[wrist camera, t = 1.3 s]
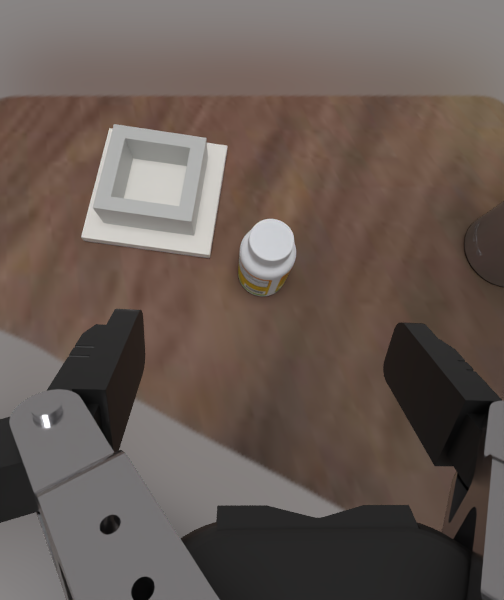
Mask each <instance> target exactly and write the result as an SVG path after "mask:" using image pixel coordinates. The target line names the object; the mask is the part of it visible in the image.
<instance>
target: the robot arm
mask: <svg viewBox="0 0 504 600" xmlns="http://www.w3.org/2000/svg"><path fill="white" fill-rule="evenodd" d="M464 245H465V252H466V255H467V258H468V261H469V262H470V264H471V266H472V267H473V269H474V270H475V271H476V272H477V273H478V274H479V275H480V276H481V277H483V278H484V279H485V280H487V281H489V282H490V283H492V284H495V285H498V286H503V287H504V201H503V202H502V203H500V204H499V205H497V206H496V207H494V208H493V209H492V210H490V211H489V212H487V213H486V214H484V215H483V216H482V217H480V218H479V219H477V220H476V221H475V222H474V223H473V224H472V225H471V226H470V227H469V229H468V230H467V233H466V236H465V244H464ZM144 364H145V342H144V324H143V313H142V311H141V310H130V309H115V310H114V312H113V314H112V316H111V317H110V319H109V321H108V323H107V325H98V324H96V325H94V326H93V327H92V328H90V329H89V330H87V331H86V332H84V333H83V334H82V335H81V337H80V339H79V340H78V342H77V343H76V345H75V348H73V350H72V351H71V353H70V354H69V357H68V358H67V359H66V361H65V362H64V364H63V365H62V367H61V369H60V370H59V372H58V374H57V375H56V377H55V378H54V380H53V381H52V383H51V385H50V386H49V388H48V389H47V391H44V392H41V393H38V394H35V395H33V396H31V397H29V398H27V399H26V400H25V401H23V402H21V403H20V404H19V405H18V406H17V407H16V408H15V409H14V411H13V412H12V414H11V416H10V417H8V418H4V419H0V523H1V522H4V521H8V520H11V519H14V518H18V517H21V516H24V515H28V514H31V513H34V512H36V514H37V517H38V520H39V523H40V526H41V528H42V531H43V534H44V537H45V540H46V543H47V546H48V548H49V551H50V554H51V557H52V560H53V563H54V566H55V568H56V571H57V574H58V577H59V580H60V582H61V586H62V589H63V592H64V595H65V598H66V600H504V401H502V400H501V399H500V397H499V396H498V395H497V394H496V393H495V392H494V391H493V390H492V389H491V388H490V387H489V386H488V385H487V383H486V382H485V381H484V380H483V379H482V378H481V377H480V376H479V375H478V374H477V373H476V372H473V368H472V367H471V366H470V365H469V364H468V363H467V362H465V360H464V359H463V358H462V357H461V355H460V354H459V353H458V352H457V351H456V350H455V349H454V348H452V347H451V346H449V345H447V344H446V343H444V342H443V341H441V340H440V339H438V338H437V337H436V336H435V335H434V334H433V332H432V331H431V330H430V329H429V328H428V327H427V326H426V325H425V324H422V323H398V324H397V325H396V327H395V329H394V332H393V335H392V338H391V342H390V345H389V348H388V351H387V354H386V357H385V361H384V367H383V370H384V377H385V380H386V382H387V384H388V385H389V387H390V389H391V391H392V392H393V394H394V396H395V398H396V399H397V401H398V403H399V405H400V406H401V408H402V410H403V412H404V413H405V415H406V417H407V419H408V420H409V422H410V424H411V426H412V427H413V429H414V431H415V433H416V434H417V436H418V438H419V439H420V441H421V443H422V445H423V446H424V448H425V450H426V452H427V453H428V455H429V457H430V459H431V460H432V462H433V464H434V466H454V468H455V469H456V473H455V475H454V477H453V479H452V483H451V488H450V493H449V498H448V503H447V508H446V513H445V518H444V523H443V528H442V532H439V531H437V530H435V529H433V528H431V527H428V526H425V525H423V524H420V523H417V522H416V520H415V518H414V516H413V514H412V511H411V509H410V507H409V505H363V506H360V507H356V508H353V509H349V510H346V511H343V512H339V513H336V514H332V515H329V516H326V517H322V518H314V517H310V516H306V515H302V514H298V513H294V512H290V511H286V510H281V509H278V508H274V507H270V506H218V507H217V521H216V522H215V523H212V524H209V525H205V526H203V527H201V528H199V529H196V530H194V531H192V532H190V533H189V534H187V535H185V536H184V537H183V538H181V539H180V537H179V536H178V534H177V533H176V531H175V529H174V528H173V526H172V525H171V523H170V522H169V520H168V518H167V517H166V515H165V514H164V512H163V511H162V509H161V508H160V506H159V504H158V503H157V502H156V500H155V498H154V497H153V495H152V494H151V492H150V490H149V489H148V487H147V486H146V484H145V482H144V481H143V479H142V478H141V476H140V475H139V473H138V472H137V470H136V468H135V467H134V465H133V464H132V462H131V461H130V459H129V458H128V456H127V455H126V454H125V452H123V451H122V450H119V448H120V444H121V441H122V438H123V435H124V432H125V429H126V425H127V422H128V419H129V416H130V412H131V409H132V406H133V403H134V400H135V397H136V393H137V390H138V387H139V384H140V381H141V377H142V374H143V370H144Z"/></svg>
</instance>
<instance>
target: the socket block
mask: <svg viewBox="0 0 504 600" xmlns="http://www.w3.org/2000/svg"><path fill="white" fill-rule="evenodd" d="M226 156H227V146H225V145H218V144H211V143H207V139H206V138H203V137H196V136H190V135H183V134H176V133H170V132H163V131H156V130H149V129H143V128H136V127H129V126H123V125H116V124H114V126H113V129H110V128H109V132H108V136H107V140H106V144H105V148H104V151H103V155H102V159H101V163H100V167H99V171H98V174H97V178H96V182H95V186H94V190H93V194H92V198H91V201H90V205H89V209H88V213H87V217H86V221H85V225H84V228H83V232H82V236H81V238H82V239H83V240H84V241H89V242H96V243H103V244H110V245H117V246H125V247H132V248H139V249H146V250H154V251H161V252H168V253H175V254H182V255H190V256H197V257H204V258H210V255H211V249H212V243H213V236H214V230H215V224H216V218H217V212H218V206H219V199H220V193H221V187H222V181H223V175H224V168H225V162H226Z"/></svg>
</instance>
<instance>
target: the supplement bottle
mask: <svg viewBox="0 0 504 600" xmlns="http://www.w3.org/2000/svg"><path fill="white" fill-rule="evenodd" d="M295 259H296V247H295V243H294V236H293V233H292V231H291V229H290V228H289V227H288V226H287V225H286V224H285V223H283V222H282V221H279V220H276V219H266V220H262V221H260V222H258V223H257V224H256V225H255V226H254V227H253V228H252V230H250V231H249V232H248V233H247V234H246V235H245V237H244V238H243V240H242V242H241V246H240V254H239V267H238V276H239V280H240V283H241V284H242V286H243V287H244V288H245V289H246V290H247V291H248V292H250V293H251V294H253V295H257V296H269V295H272V294H274V293H276V292H277V291H278V290H279V289H280V288H281V287H282V286H283V284H284V282H285V280H286V278H287V276H288V274H289V273H290V271H291V269H292V267H293V264H294V262H295Z"/></svg>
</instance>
